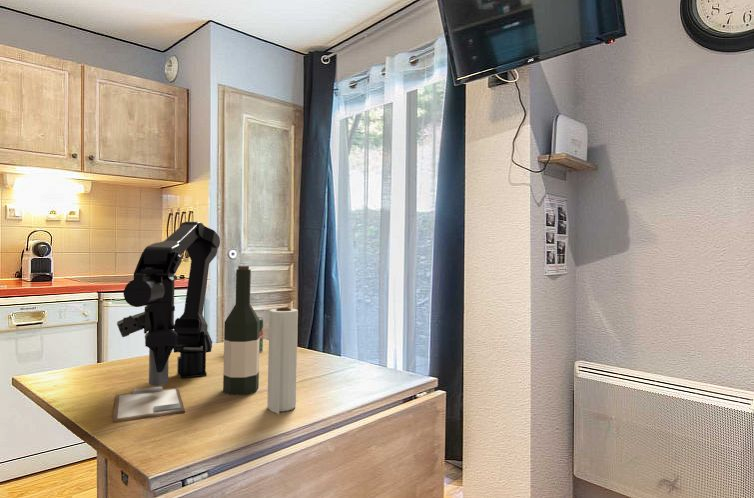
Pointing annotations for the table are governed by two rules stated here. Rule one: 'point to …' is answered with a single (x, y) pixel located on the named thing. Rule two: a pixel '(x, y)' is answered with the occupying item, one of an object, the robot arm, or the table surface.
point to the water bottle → (154, 376)
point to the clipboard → (147, 403)
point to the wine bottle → (241, 341)
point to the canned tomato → (261, 335)
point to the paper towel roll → (282, 359)
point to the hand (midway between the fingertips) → (159, 369)
